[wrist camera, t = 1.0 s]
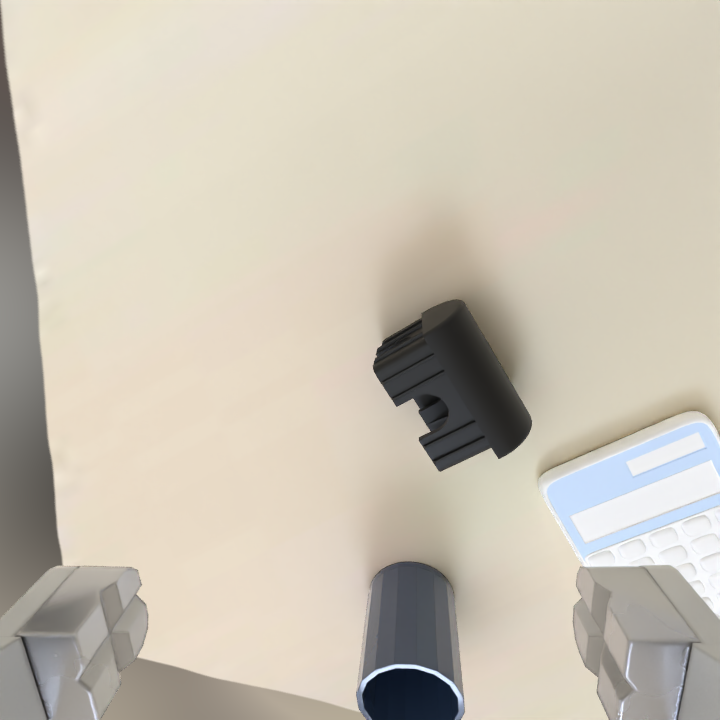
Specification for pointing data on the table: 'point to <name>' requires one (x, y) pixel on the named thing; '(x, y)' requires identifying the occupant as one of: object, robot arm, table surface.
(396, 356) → the end cap
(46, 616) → the robot arm
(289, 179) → the table surface
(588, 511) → the calculator
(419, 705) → the pen cup
